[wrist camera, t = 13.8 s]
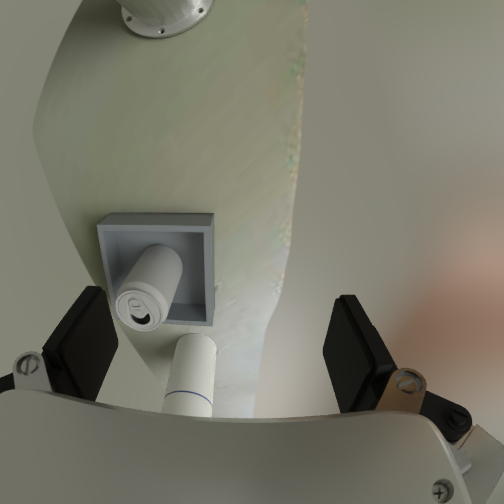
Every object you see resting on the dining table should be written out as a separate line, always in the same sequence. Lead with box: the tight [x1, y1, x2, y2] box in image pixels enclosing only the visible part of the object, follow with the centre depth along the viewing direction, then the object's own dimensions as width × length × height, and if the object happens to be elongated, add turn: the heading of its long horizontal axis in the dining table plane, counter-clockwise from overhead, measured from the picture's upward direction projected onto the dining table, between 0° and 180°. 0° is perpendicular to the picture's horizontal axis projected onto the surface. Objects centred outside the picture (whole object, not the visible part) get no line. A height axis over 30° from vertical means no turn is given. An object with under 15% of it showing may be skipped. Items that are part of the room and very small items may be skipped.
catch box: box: [97, 213, 215, 326], centre depth 39 cm, size 15×15×5 cm
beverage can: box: [115, 245, 183, 332], centre depth 35 cm, size 6×6×12 cm
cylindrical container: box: [161, 333, 217, 417], centre depth 37 cm, size 7×7×25 cm
